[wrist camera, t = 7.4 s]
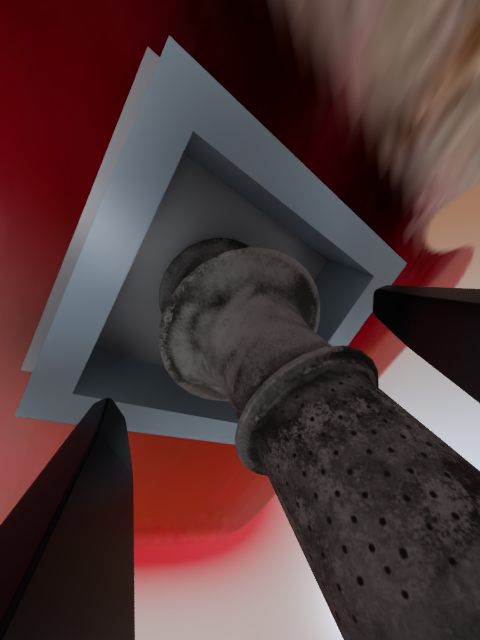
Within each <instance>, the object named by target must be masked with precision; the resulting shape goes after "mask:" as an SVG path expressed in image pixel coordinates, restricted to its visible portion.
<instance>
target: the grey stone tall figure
mask: <svg viewBox="0 0 480 640" xmlns="http://www.w3.org/2000/svg"><path fill="white" fill-rule="evenodd" d="M159 305H160V309H161V312H162V319H161V322H160V325H159V350H160V354H161V357H162V360H163V363H164V367H165V369H166V370H167V372H168V373H169V374H170V376H171V377H172V378H173V380H174V381H175V382H176V384H178V385H179V386H181V387H182V388H183V389H185V390H186V391H188V392H189V393H190V394H193V395H196V396H199V397H202V398H205V399H207V400H218V401H230V403H231V405H232V407H233V410H234V412H235V414H236V416H237V419H238V424H237V429H236V434H235V445H236V452H237V455H238V457H239V458H240V460H241V461H242V463H243V464H244V466H245V467H246V468H248V469H250V470H251V471H253V472H255V473H257V474H261V475H267V476H268V478H269V480H270V482H271V484H272V486H273V488H274V490H275V493H276V495H277V496H278V499H279V501H280V503H281V505H282V508H283V510H284V512H285V514H286V516H287V518H288V521H289V523H290V525H291V527H292V529H293V531H294V533H295V536H296V538H297V540H298V542H299V544H300V546H301V548H302V551H303V553H304V555H305V557H306V559H307V561H308V563H309V566H310V568H311V570H312V572H313V574H314V576H315V579H316V581H317V583H318V585H319V587H320V589H321V591H322V594H323V596H324V598H325V600H326V602H327V604H328V606H329V609H330V611H331V613H332V615H333V617H334V619H335V622H336V623H337V626H338V628H339V630H340V632H341V634H342V637H343V638H344V640H480V471H479V470H477V469H476V468H475V467H474V466H473V465H471V464H470V463H469V462H468V461H466V460H465V459H464V458H463V457H462V456H460V455H459V454H458V453H457V452H456V451H454V450H453V449H452V448H451V447H450V446H448V445H447V444H446V443H445V442H443V441H442V440H441V439H440V438H439V437H437V436H436V435H435V434H434V433H433V432H431V431H430V430H429V429H428V428H426V427H425V426H424V425H423V424H422V423H420V422H419V421H418V420H417V419H416V418H414V417H413V416H412V415H411V414H409V413H408V412H407V411H406V410H405V409H403V408H402V407H401V406H400V405H399V404H397V403H396V402H395V401H394V400H392V399H391V398H390V397H389V396H388V395H386V394H385V393H384V392H383V391H382V390H380V389H379V388H378V370H377V368H376V366H375V364H374V362H373V360H372V359H371V358H370V357H368V356H367V355H366V354H365V353H363V352H362V351H361V350H359V349H356V348H352V347H348V346H344V345H343V346H332V345H330V344H329V343H328V342H327V341H326V340H324V339H323V338H322V337H321V336H319V335H318V334H317V333H316V332H317V328H318V325H319V317H320V301H319V296H318V291H317V287H316V285H315V283H314V281H313V279H312V277H311V276H310V274H309V272H308V271H307V270H306V269H305V268H304V267H303V266H302V265H301V264H300V263H299V262H298V261H296V260H295V259H294V258H293V257H290V256H288V255H286V254H283V253H281V252H279V251H276V250H274V249H267V248H257V247H250V246H249V245H246V244H244V243H242V242H239V241H237V240H234V239H226V238H213V239H208V240H202V241H200V242H198V243H196V244H194V245H192V246H189V247H187V248H186V249H185V250H184V251H182V252H181V253H180V254H179V255H178V256H177V257H176V258H174V259H173V261H172V262H171V264H170V265H169V267H168V268H167V270H166V271H165V273H164V276H163V279H162V282H161V285H160V290H159Z"/></svg>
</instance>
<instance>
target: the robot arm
mask: <svg viewBox="0 0 480 640" xmlns="http://www.w3.org/2000/svg"><path fill="white" fill-rule="evenodd" d="M373 314H374V315H375V317H376V318H377V319H378V320H379V321H380V322H382V323H383V324H384V325H385V326H386V327H387V328H388V329H389V330H390V331H391V332H392V333H393V334H394V335H395V336H396V337H398V338H399V339H400V340H401V341H402V342H403V343H404V344H405V345H406V346H407V347H409V348H410V349H411V350H412V351H414V352H415V353H416V354H417V355H419V356H420V357H422V358H423V359H424V360H425V361H426V362H428V363H429V364H430V365H432V366H433V367H434V368H435V369H437V370H438V371H439V372H441V373H442V374H443V375H444V376H446V377H447V378H448V379H450V380H451V381H452V382H454V383H455V384H456V385H457V386H459V387H460V388H461V389H462V390H464V391H465V392H466V393H468V394H469V395H470V396H471V397H473V398H474V399H475V400H477V401H478V402H479V403H480V289H463V288H440V287H417V286H394V285H386V286H383V287H380V288H378V289H376V290H375V291H374V294H373ZM134 626H135V625H134V517H133V471H132V462H131V455H130V447H129V440H128V432H127V424H126V420H125V417H124V415H123V414H122V412H121V411H120V409H119V408H118V407H117V405H116V404H115V402H114V401H113V399H111V398H105V399H102V400H100V401H97V402H95V403H94V404H93V405H92V406H91V407H90V409H89V410H88V411H87V413H86V414H85V415H84V417H83V418H82V419H81V421H80V422H79V423H78V424H77V426H76V427H75V428H74V430H73V431H72V432H71V434H70V435H69V436H68V438H67V439H66V440H65V441H64V443H63V444H62V445H61V447H60V448H59V449H58V451H57V452H56V453H55V455H54V456H53V457H52V458H51V460H50V461H49V462H48V464H47V465H46V466H45V468H44V469H43V470H42V472H41V473H40V474H39V475H38V477H37V478H36V479H35V481H34V482H33V483H32V485H31V486H30V487H29V489H28V490H27V491H26V492H25V494H24V495H23V496H22V498H21V499H20V500H19V502H18V503H17V504H16V506H15V507H14V508H13V509H12V511H11V512H10V513H9V515H8V516H7V517H6V519H5V520H4V521H3V522H2V524H1V525H0V640H135V631H134V630H135V628H134Z"/></svg>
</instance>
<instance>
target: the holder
mask: <svg viewBox="0 0 480 640" xmlns="http://www.w3.org/2000/svg"><path fill="white" fill-rule="evenodd" d="M213 238H226V239H234V240H237V241H239V242H242V243H244V244H246V245H249V246H250V247H257V248H267V249H274V250H276V251H279V252H281V253H283V254H286V255H288V256H290V257H293V258H294V259H295V260H296V261H298V262H299V263H300V264H301V265H302V266H303V267H304V268H305V269H306V270H307V271H308V272H309V274H310V276H311V277H312V279H313V281H314V283H315V285H316V287H317V291H318V296H319V301H320V317H319V325H318V328H317V332H316V333H317V334H318V335H319V336H321V337H322V338H323V339H324V340H326V341H327V342H328V343H329V344H330V345H332V346H343V345H344V346H348V344H349V343H350V342H351V340H352V339H353V337H354V336H355V335H356V333H357V332H358V331H359V329H360V328H361V326H362V325H363V324H364V322H365V321H366V319H367V318H368V317H369V315H370V314H371V313H372V311H373V294H374V291H375V290H376V289H378V288H380V287H383V286H386V285H392V283H393V282H394V281H395V279H396V278H397V277H398V275H399V274H400V272H401V271H402V270H403V268H404V267H405V265H406V264H407V263H406V262H405V261H404V260H403V259H402V258H401V257H400V256H399V255H398V254H396V253H395V252H394V251H393V250H392V249H391V248H390V247H389V246H388V245H387V244H386V243H385V242H384V241H383V240H382V239H381V238H380V237H379V236H378V235H377V234H376V233H375V232H374V231H372V230H371V229H370V228H369V227H368V226H367V225H366V224H365V223H364V222H363V221H362V220H361V219H360V218H359V217H358V216H357V215H356V214H355V213H354V212H353V211H352V210H351V209H350V208H349V207H347V206H346V205H345V204H344V203H343V202H342V201H341V200H340V199H339V198H338V197H337V196H336V195H335V194H334V193H333V192H332V191H331V190H330V189H329V188H328V187H327V186H326V185H325V184H323V183H322V182H321V181H320V180H319V179H318V178H317V177H316V176H315V175H314V174H313V173H312V172H311V171H310V170H309V169H308V168H307V167H306V166H305V165H304V164H303V163H302V162H301V161H300V160H298V159H297V158H296V157H295V156H294V155H293V154H292V153H291V152H290V151H289V150H288V149H287V148H286V147H285V146H284V145H283V144H282V143H281V142H280V141H279V140H278V139H277V138H276V137H275V136H273V135H272V134H271V133H270V132H269V131H268V130H267V129H266V128H265V127H264V126H263V125H262V124H261V123H260V122H259V121H258V120H257V119H256V118H255V117H254V116H253V115H252V114H251V113H249V112H248V111H247V110H246V109H245V108H244V107H243V106H242V105H241V104H240V103H239V102H238V101H237V100H236V99H235V98H234V97H233V96H232V95H231V94H230V93H229V92H228V91H227V90H226V89H224V88H223V87H222V86H221V85H220V84H219V83H218V82H217V81H216V80H215V79H214V78H213V77H212V76H211V75H210V74H209V73H208V72H207V71H206V70H205V69H204V68H203V67H202V66H201V65H199V64H198V63H197V62H196V61H195V60H194V59H193V58H192V57H191V56H190V55H189V54H188V53H187V52H186V51H185V50H184V49H183V48H182V47H181V46H180V45H179V44H178V43H177V42H175V41H174V40H173V39H172V38H171V37H170V36H169V37H168V39H167V42H166V44H165V47H164V49H163V52H162V54H161V57H159V56H158V55H157V54H155V53H154V52H153V51H152V50H151V49H150V48H149V47H147V50H146V52H145V55H144V57H143V60H142V62H141V65H140V67H139V70H138V72H137V75H136V78H135V80H134V83H133V85H132V88H131V90H130V93H129V95H128V98H127V100H126V103H125V106H124V108H123V111H122V113H121V116H120V118H119V121H118V123H117V126H116V128H115V131H114V134H113V136H112V139H111V141H110V144H109V146H108V149H107V151H106V154H105V156H104V159H103V162H102V164H101V167H100V169H99V172H98V174H97V177H96V179H95V182H94V184H93V187H92V190H91V192H90V195H89V197H88V200H87V202H86V205H85V207H84V210H83V213H82V215H81V218H80V220H79V223H78V225H77V228H76V230H75V233H74V235H73V238H72V241H71V243H70V246H69V248H68V251H67V253H66V256H65V258H64V261H63V263H62V266H61V269H60V271H59V274H58V276H57V279H56V281H55V284H54V286H53V289H52V291H51V294H50V297H49V299H48V302H47V304H46V307H45V309H44V312H43V314H42V317H41V319H40V322H39V325H38V327H37V330H36V332H35V335H34V337H33V340H32V342H31V345H30V347H29V350H28V353H27V355H26V358H25V360H24V363H23V365H22V368H21V370H23V371H28V372H32V374H31V377H30V379H29V382H28V384H27V387H26V389H25V392H24V394H23V396H22V399H21V401H20V404H19V406H18V409H17V411H16V414H15V416H14V417H21V418H29V419H37V420H45V421H53V422H61V423H69V424H78V423H79V422H80V421H81V419H82V418H83V417H84V415H85V414H86V413H87V411H88V410H89V409H90V407H91V406H92V405H93V404H94V403H95V402H97V401H100V400H102V399H105V398H111V399H113V401H114V402H115V404H116V405H117V407H118V408H119V409H120V411H121V412H122V414H123V415H124V417H125V420H126V424H127V431H132V432H140V433H148V434H156V435H164V436H172V437H180V438H187V439H195V440H203V441H211V442H219V443H227V444H235V434H236V429H237V424H238V419H237V416H236V414H235V412H234V410H233V407H232V405H231V403H230V401H218V400H207V399H205V398H202V397H199V396H196V395H193V394H190V393H189V392H188V391H186V390H185V389H183V388H182V387H181V386H179V385H178V384H176V382H175V381H174V380H173V378H172V377H171V376H170V374H169V373H168V372H167V370H166V369H165V367H164V363H163V360H162V357H161V354H160V350H159V325H160V322H161V319H162V312H161V309H160V305H159V290H160V285H161V282H162V279H163V276H164V273H165V271H166V270H167V268H168V267H169V265H170V264H171V262H172V261H173V259H174V258H176V257H177V256H178V255H179V254H180V253H181V252H182V251H184V250H185V249H186V248H187V247H189V246H192V245H194V244H196V243H198V242H200V241H202V240H208V239H213Z"/></svg>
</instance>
